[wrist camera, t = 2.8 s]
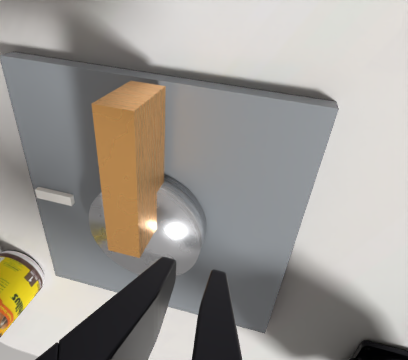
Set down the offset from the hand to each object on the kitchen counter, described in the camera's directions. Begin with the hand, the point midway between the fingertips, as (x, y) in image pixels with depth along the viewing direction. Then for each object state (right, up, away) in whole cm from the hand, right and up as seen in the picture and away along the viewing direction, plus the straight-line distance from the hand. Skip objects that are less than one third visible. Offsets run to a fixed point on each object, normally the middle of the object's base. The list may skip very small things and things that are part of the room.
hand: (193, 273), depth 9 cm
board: (-3, +1, +15) cm, 15 cm away
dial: (-3, +2, +12) cm, 13 cm away
